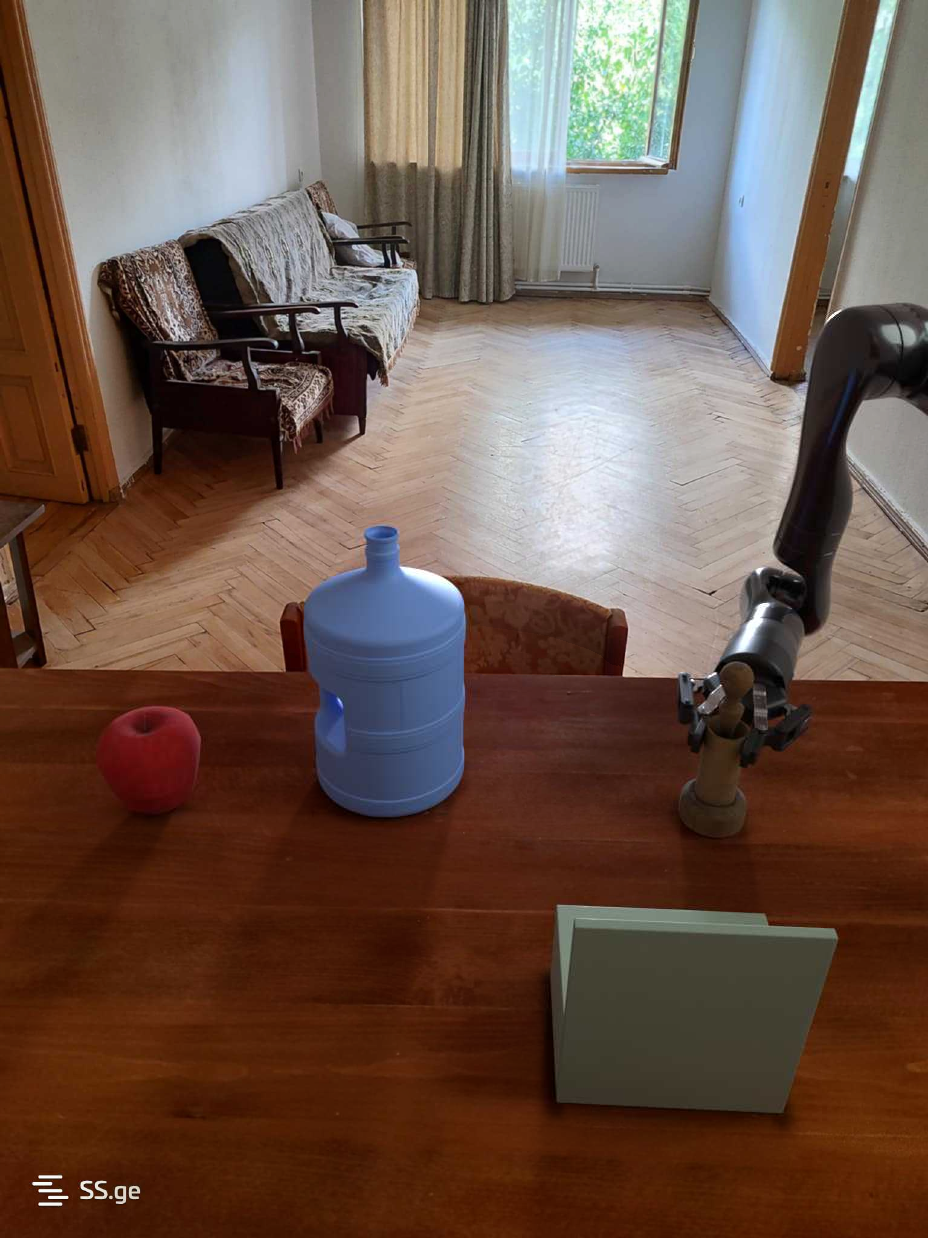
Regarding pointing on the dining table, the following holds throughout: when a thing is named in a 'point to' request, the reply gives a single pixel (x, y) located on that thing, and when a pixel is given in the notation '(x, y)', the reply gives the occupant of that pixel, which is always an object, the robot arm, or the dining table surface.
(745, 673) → the mortar and pestle
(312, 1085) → the dining table surface
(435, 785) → the water jug
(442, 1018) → the dining table surface
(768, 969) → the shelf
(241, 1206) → the dining table surface
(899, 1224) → the dining table surface
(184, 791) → the apple
